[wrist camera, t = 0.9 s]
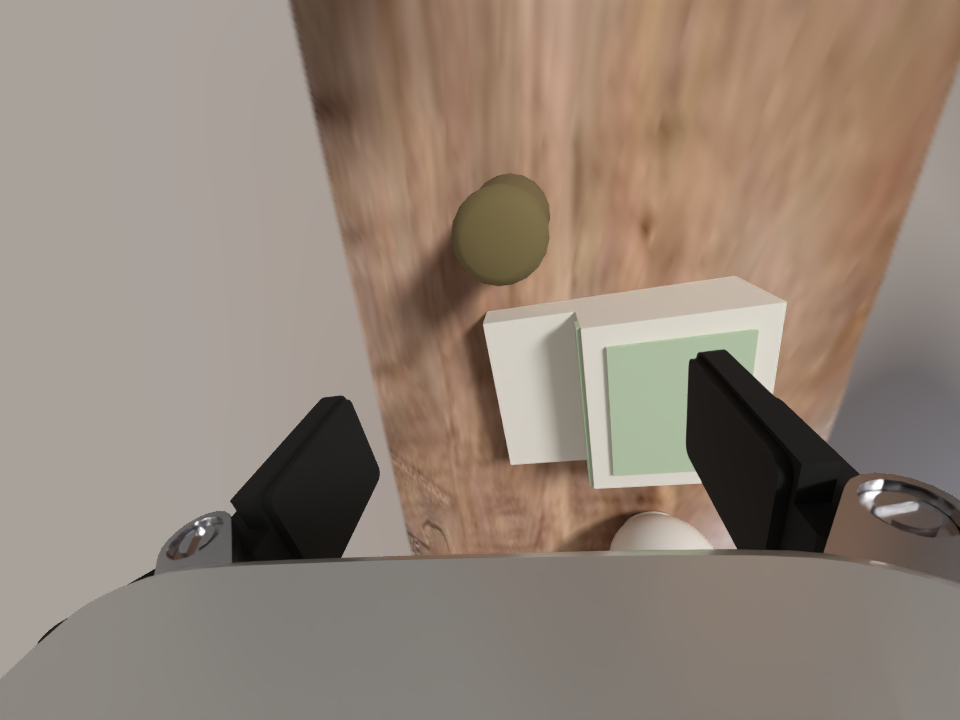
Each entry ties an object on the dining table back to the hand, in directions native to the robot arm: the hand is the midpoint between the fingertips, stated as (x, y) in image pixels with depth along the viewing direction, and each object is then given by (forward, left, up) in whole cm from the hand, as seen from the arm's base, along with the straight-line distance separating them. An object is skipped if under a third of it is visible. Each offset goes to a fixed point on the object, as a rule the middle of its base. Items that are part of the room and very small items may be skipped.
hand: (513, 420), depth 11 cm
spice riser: (+11, +6, -22) cm, 25 cm away
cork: (-3, -1, -22) cm, 22 cm away
